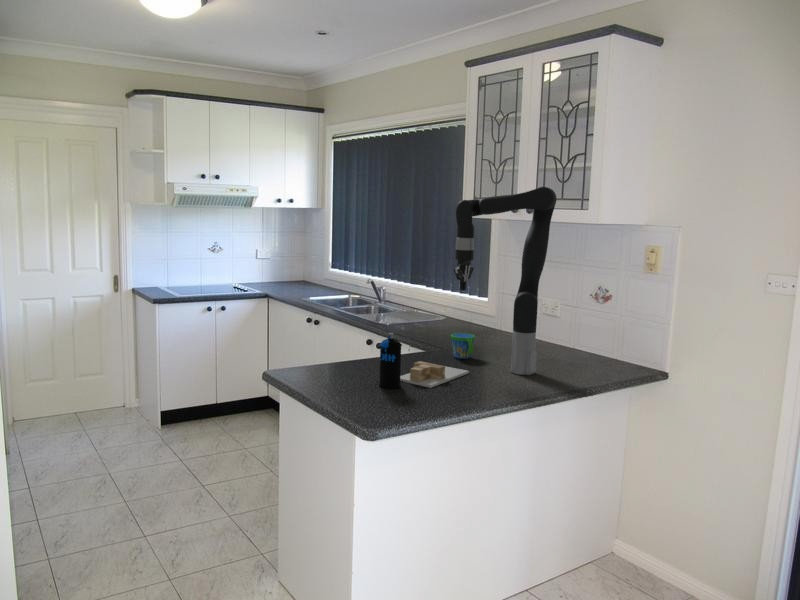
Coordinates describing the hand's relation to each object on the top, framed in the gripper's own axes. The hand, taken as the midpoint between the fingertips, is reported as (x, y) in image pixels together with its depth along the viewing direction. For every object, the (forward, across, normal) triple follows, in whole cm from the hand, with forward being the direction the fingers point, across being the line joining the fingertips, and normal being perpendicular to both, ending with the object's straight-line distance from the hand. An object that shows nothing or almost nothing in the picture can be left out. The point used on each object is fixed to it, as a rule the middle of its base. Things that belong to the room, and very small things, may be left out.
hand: (463, 290), depth 276 cm
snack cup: (+32, +12, +6) cm, 35 cm away
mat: (+32, -24, -2) cm, 40 cm away
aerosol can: (+32, -46, +3) cm, 56 cm away
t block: (+31, -31, -2) cm, 44 cm away
